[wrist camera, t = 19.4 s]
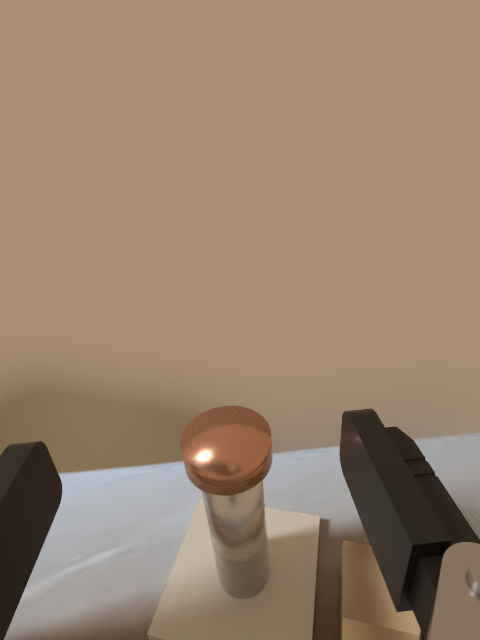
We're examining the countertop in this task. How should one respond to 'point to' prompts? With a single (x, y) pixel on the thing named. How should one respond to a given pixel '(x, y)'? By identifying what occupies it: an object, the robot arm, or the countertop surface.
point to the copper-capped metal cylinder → (232, 492)
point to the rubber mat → (242, 614)
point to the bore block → (369, 600)
